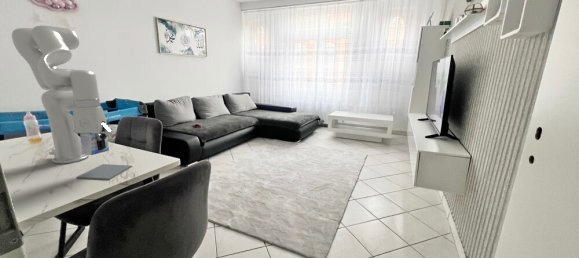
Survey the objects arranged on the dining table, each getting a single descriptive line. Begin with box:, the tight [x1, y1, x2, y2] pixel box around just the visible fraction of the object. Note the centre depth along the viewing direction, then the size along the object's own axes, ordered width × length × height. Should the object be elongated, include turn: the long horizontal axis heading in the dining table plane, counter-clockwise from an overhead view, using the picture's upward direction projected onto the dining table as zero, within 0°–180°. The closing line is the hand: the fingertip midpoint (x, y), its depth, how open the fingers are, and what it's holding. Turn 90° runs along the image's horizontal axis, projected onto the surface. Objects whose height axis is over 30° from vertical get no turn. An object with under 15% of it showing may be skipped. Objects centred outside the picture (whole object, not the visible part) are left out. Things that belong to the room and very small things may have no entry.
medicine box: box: [80, 131, 110, 156], centre depth 98 cm, size 8×4×9 cm, turn 171°
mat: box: [76, 163, 133, 181], centre depth 100 cm, size 13×13×1 cm
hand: (95, 148), depth 98 cm, fingers closed on medicine box, 4 cm apart
